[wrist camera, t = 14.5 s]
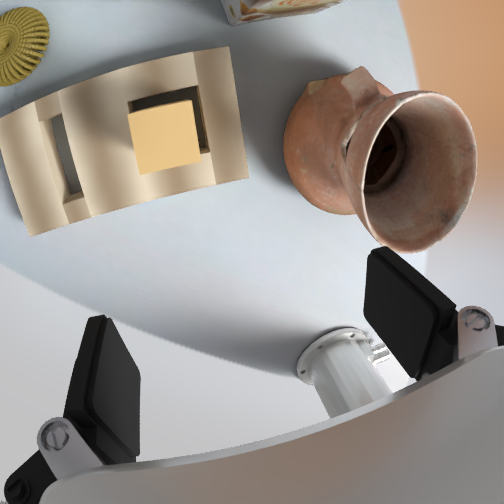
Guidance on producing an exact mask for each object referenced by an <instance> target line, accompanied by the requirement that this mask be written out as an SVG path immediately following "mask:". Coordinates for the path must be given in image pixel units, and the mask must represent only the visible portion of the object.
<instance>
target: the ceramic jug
mask: <svg viewBox="0 0 504 504" xmlns="http://www.w3.org/2000/svg"><path fill="white" fill-rule="evenodd" d="M283 152H284V159H285V164H286V168H287V171H288V174H289V176H290V178H291V180H292V182H293V184H294V186H295V187H296V189H297V190H298V191H299V193H300V194H301V195H302V196H303V197H304V198H305V199H306V200H307V201H308V202H310V203H311V204H312V205H314V206H315V207H317V208H319V209H321V210H323V211H326V212H329V213H333V214H339V215H352V214H357V215H358V217H359V219H360V220H361V222H362V223H363V225H364V226H365V228H366V229H367V230H368V232H369V233H370V234H371V235H372V236H373V238H374V239H375V240H376V241H377V242H379V243H380V244H381V245H382V246H387V247H389V248H390V249H391V250H393V251H395V252H398V253H417V252H421V251H425V250H427V249H429V248H430V247H432V246H433V245H435V244H436V243H437V242H439V241H442V240H443V239H444V238H445V237H446V236H447V235H448V234H449V233H450V232H451V231H452V230H453V229H454V228H455V227H456V225H457V224H458V222H459V220H460V218H461V217H462V215H463V213H464V212H465V210H466V208H467V207H468V205H469V202H470V199H471V196H472V192H473V189H474V186H475V181H476V172H477V147H476V141H475V136H474V133H473V129H472V128H471V124H470V122H469V120H468V118H467V117H466V115H465V114H464V112H463V111H462V109H461V108H460V107H459V106H458V105H457V104H456V103H455V102H454V101H453V100H451V99H450V98H449V97H447V96H445V95H443V94H440V93H437V92H432V91H409V92H403V93H399V94H395V95H394V94H393V93H392V92H391V91H390V90H389V89H388V88H387V87H385V86H384V85H383V84H381V83H380V82H378V81H376V80H374V78H373V77H372V76H371V74H370V73H369V72H368V70H367V69H366V68H364V67H362V66H360V67H358V68H356V69H354V70H353V71H352V72H351V73H349V74H342V75H336V76H332V77H329V78H327V79H324V80H323V79H322V80H317V81H311V82H309V83H308V84H307V86H306V88H305V90H304V92H303V94H302V95H301V96H300V98H299V99H298V101H297V102H296V104H295V105H294V107H293V108H292V111H291V113H290V115H289V117H288V120H287V123H286V127H285V132H284V139H283Z"/></svg>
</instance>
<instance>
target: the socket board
mask: <svg viewBox="0 0 504 504" xmlns="http://www.w3.org/2000/svg"><path fill="white" fill-rule="evenodd" d="M194 86H196V90H197V96H198V101H199V107H200V113H201V118H202V124H203V129H204V135H205V140H206V146H207V147H204V148H199V150H200V156H201V162H197V163H192V164H187V165H182V166H178V167H173V168H169V169H164V170H160V171H155V172H151V173H147V174H143V175H140V173H139V169H138V165H137V160H136V156H135V151H134V146H133V141H132V136H131V131H130V126H129V121H128V116H127V115H128V114H130V113H133V112H134V111H133V106H132V101H135V100H138V99H142V98H146V97H150V96H154V95H158V94H162V93H166V92H170V91H175V90H179V89H184V88H189V87H194ZM61 114H62V116H63V120H64V125H65V129H66V133H67V137H68V141H69V145H70V149H71V153H72V156H73V160H74V164H75V167H76V171H77V174H78V178H79V181H80V184H81V187H82V191H80V192H77V193H74V194H71V192H70V188H69V185H68V182H67V179H66V175H65V172H64V169H63V165H62V162H61V158H60V154H59V151H58V147H57V143H56V139H55V135H54V131H53V127H52V122H51V118H54V117H56V116H59V115H61ZM0 149H1V153H2V157H3V160H4V164H5V167H6V171H7V174H8V177H9V180H10V183H11V187H12V190H13V193H14V196H15V198H16V201H17V204H18V207H19V210H20V212H21V215H22V218H23V220H24V223H25V225H26V228H27V230H28V233H29V235H30V237H32V236H35V235H38V234H41V233H44V232H47V231H50V230H53V229H56V228H59V227H62V226H65V225H68V224H71V223H75V222H78V221H81V220H84V219H87V218H91V217H94V216H97V215H101V214H104V213H108V212H111V211H115V210H118V209H122V208H125V207H129V206H132V205H136V204H140V203H143V202H147V201H151V200H155V199H159V198H163V197H167V196H171V195H175V194H179V193H183V192H187V191H191V190H195V189H200V188H204V187H208V186H213V185H217V184H222V183H226V182H231V181H236V180H241V179H245V178H249V173H248V166H247V160H246V153H245V146H244V140H243V133H242V126H241V120H240V113H239V107H238V100H237V94H236V87H235V81H234V74H233V68H232V62H231V55H230V49H229V46H227V47H219V48H212V49H206V50H200V51H194V52H188V53H183V54H178V55H173V56H168V57H164V58H160V59H155V60H151V61H147V62H143V63H139V64H136V65H132V66H128V67H125V68H121V69H118V70H115V71H111V72H108V73H105V74H102V75H99V76H96V77H93V78H90V79H87V80H85V81H82V82H79V83H77V84H74V85H71V86H69V87H66V88H64V89H61V90H59V91H56V92H54V93H52V94H49V95H47V96H45V97H42V98H40V99H38V100H36V101H34V102H31V103H29V104H27V105H25V106H23V107H21V108H19V109H17V110H15V111H13V112H11V113H9V114H7V115H5V116H4V117H2V118H0Z"/></svg>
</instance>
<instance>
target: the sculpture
mask: <svg viewBox="0 0 504 504" xmlns="http://www.w3.org/2000/svg"><path fill="white" fill-rule="evenodd" d="M31 17H32V18H31ZM27 20H28V21H27ZM40 31H41V32H40ZM49 31H50V30H49V26H48V22H47V20H46V18H45V17H44V15H43V14H42V13H41V12H39V11H38V10H37V9H34V8H31V7H30V8H28V7H19V8H16V9H12V10H10V11H8V12H6V13H5V14H3V15H2V16H0V87H1V86H10V85H14V84H15V83H18V82H20V81H21V80H23V79H25V78H26V77H27V76H28V75H30V74H31V73H32V70H35V68H36V67H37V64H39V63H40V62H41V60H40V58H38V57H42V58H43V57H44V55H45V54H42V53H40V52H37V51H46V50H47V47H43V46H47V45H48V43H49V41H48V39H49V36H50V34H49ZM36 37H37V38H36ZM43 37H45V38H43ZM42 38H43V39H42ZM38 43H40V44H38ZM34 50H36V51H34ZM37 56H38V57H37ZM31 57H32V58H31ZM30 61H31V62H30ZM31 63H32V64H31ZM32 65H33V66H32ZM28 69H29V70H28ZM20 73H21V74H20Z"/></svg>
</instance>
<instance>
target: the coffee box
mask: <svg viewBox="0 0 504 504" xmlns="http://www.w3.org/2000/svg"><path fill="white" fill-rule="evenodd" d="M344 1H346V0H221V2H222V5H223V8H224V11H225V13H226V16H227V19H228V21H229V23H230V25H232V26H235V25H239V24H244V23H250V22H255V21H261V20H266V19H273V18H280V17H287V16H296V15H305V14H315V13H318V12H320V11H322V10H325V9H327V8H330V7H331V6H334V5H336V4H339V3H341V2H344Z"/></svg>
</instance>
